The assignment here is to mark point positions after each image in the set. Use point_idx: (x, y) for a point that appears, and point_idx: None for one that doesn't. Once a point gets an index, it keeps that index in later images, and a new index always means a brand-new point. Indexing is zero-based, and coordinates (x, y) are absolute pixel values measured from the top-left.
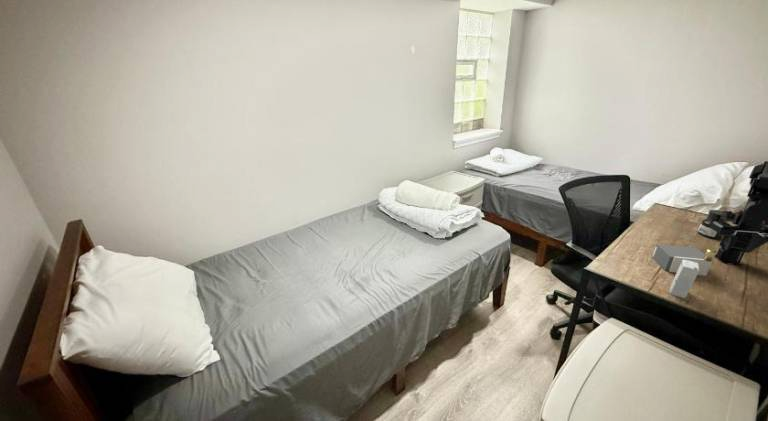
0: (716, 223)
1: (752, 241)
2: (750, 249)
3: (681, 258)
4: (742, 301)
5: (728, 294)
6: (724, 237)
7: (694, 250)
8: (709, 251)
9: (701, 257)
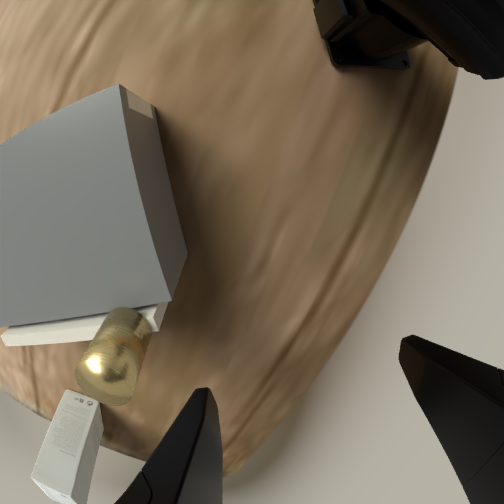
0: None
1: (477, 424)
2: (413, 388)
3: (24, 342)
4: (251, 403)
5: (223, 383)
6: None
7: (85, 156)
8: (90, 395)
9: (106, 277)
